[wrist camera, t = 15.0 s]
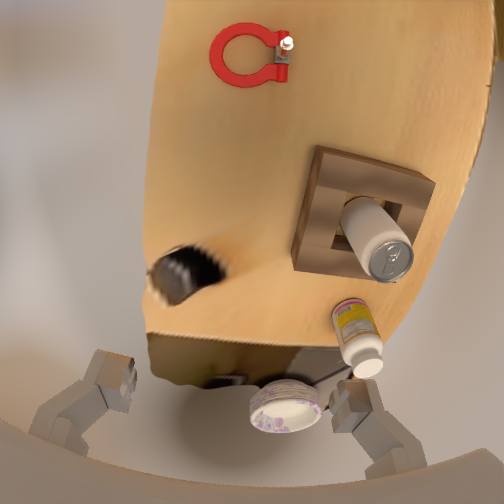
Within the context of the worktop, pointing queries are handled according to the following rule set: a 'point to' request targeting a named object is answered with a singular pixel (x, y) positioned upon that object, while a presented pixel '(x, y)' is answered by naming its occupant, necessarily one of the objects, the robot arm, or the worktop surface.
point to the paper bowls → (285, 406)
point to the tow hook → (270, 70)
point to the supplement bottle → (358, 337)
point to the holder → (332, 202)
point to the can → (376, 240)
